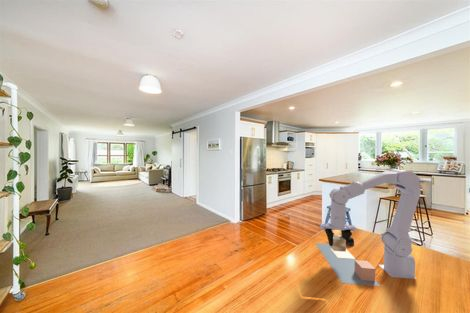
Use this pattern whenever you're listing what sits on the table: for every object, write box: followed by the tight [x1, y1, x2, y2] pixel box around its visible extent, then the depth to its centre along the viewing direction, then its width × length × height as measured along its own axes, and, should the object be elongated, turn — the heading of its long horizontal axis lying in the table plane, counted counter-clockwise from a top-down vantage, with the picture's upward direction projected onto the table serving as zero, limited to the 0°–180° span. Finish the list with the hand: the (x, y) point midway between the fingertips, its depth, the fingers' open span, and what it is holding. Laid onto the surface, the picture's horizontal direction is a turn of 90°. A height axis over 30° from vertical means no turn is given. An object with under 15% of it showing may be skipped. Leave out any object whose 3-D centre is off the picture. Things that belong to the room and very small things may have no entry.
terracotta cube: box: [354, 259, 377, 281], centre depth 73 cm, size 5×5×5 cm
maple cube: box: [329, 234, 347, 252], centre depth 81 cm, size 5×5×5 cm
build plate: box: [346, 236, 355, 247], centre depth 99 cm, size 12×7×5 cm, turn 18°
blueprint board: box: [315, 242, 381, 287], centre depth 84 cm, size 14×30×1 cm, turn 174°
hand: (337, 245), depth 81 cm, fingers closed on maple cube, 5 cm apart
